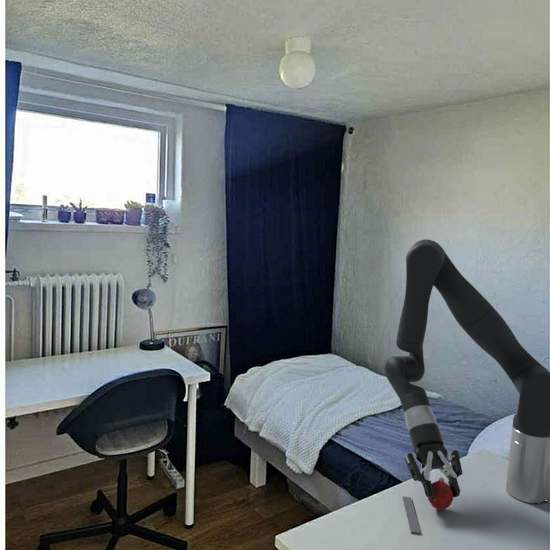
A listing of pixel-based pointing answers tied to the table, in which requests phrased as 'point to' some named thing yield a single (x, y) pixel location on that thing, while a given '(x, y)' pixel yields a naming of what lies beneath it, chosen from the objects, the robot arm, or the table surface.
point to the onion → (441, 495)
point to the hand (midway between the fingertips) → (444, 497)
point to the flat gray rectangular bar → (411, 515)
